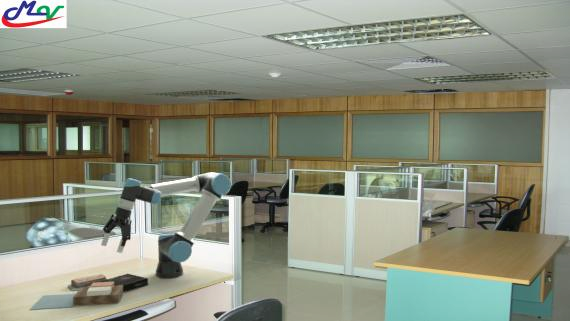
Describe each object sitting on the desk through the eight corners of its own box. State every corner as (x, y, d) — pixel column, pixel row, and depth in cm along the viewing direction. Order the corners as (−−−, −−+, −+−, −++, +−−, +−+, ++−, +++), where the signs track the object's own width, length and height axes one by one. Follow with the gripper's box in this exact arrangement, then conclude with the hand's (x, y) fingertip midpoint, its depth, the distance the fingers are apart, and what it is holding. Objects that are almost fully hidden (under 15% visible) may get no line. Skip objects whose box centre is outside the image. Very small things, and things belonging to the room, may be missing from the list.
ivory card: (111, 290, 235) (111, 286, 235) (109, 294, 229) (109, 290, 229) (89, 292, 233) (89, 287, 233) (86, 296, 227) (86, 291, 227)
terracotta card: (114, 285, 243) (114, 281, 243) (112, 289, 237) (112, 285, 237) (93, 287, 241) (93, 282, 241) (90, 290, 235) (90, 286, 235)
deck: (123, 293, 244) (122, 285, 244) (118, 302, 229) (118, 294, 229) (80, 295, 241) (80, 287, 240) (73, 305, 226) (72, 297, 226)
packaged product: (101, 272, 267) (108, 276, 259) (101, 281, 267) (108, 285, 259) (66, 278, 255) (73, 282, 247) (67, 287, 255) (73, 292, 247)
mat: (82, 293, 243) (82, 293, 243) (72, 307, 224) (72, 306, 224) (43, 296, 240) (43, 295, 240) (29, 310, 221) (29, 309, 221)
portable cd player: (127, 280, 267) (126, 273, 267) (147, 285, 258) (147, 278, 257) (100, 288, 254) (100, 280, 254) (121, 294, 244) (121, 286, 244)
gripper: (104, 202, 254) (91, 241, 251) (134, 212, 239) (120, 254, 236) (116, 204, 260) (103, 243, 257) (145, 214, 245) (132, 256, 242)
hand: (111, 249), depth 247 cm, fingers open, 13 cm apart
